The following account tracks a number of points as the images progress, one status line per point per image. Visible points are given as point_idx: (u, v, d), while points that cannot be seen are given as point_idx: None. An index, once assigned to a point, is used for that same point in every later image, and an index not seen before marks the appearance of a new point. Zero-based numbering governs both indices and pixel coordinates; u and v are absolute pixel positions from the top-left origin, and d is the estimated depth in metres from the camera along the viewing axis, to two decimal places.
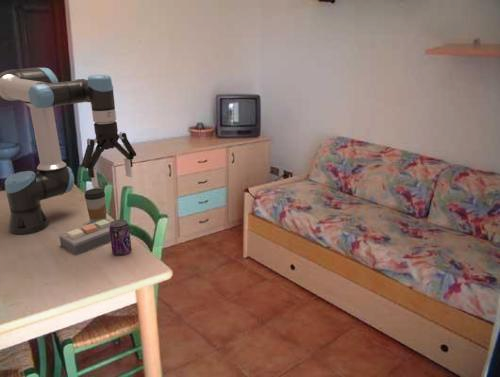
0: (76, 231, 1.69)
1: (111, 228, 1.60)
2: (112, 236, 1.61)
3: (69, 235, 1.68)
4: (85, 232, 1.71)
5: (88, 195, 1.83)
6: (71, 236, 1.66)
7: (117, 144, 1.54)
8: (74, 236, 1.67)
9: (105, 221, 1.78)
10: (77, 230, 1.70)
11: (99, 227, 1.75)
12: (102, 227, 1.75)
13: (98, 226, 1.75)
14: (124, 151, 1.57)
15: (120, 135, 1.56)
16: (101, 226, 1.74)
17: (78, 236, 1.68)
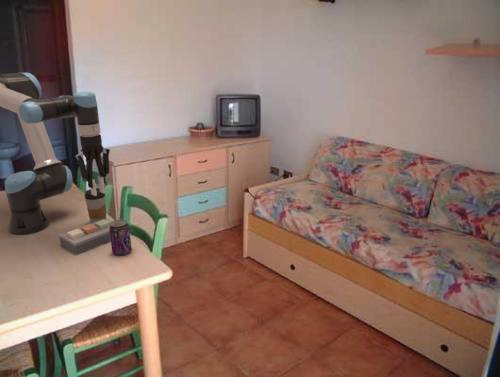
0: (76, 231, 1.69)
1: (111, 228, 1.60)
2: (112, 236, 1.61)
3: (69, 235, 1.68)
4: (85, 232, 1.71)
5: (88, 195, 1.83)
6: (71, 236, 1.66)
7: (99, 156, 1.68)
8: (74, 236, 1.67)
9: (105, 221, 1.78)
10: (77, 230, 1.70)
11: (99, 227, 1.75)
12: (102, 227, 1.75)
13: (98, 226, 1.75)
14: (101, 166, 1.70)
15: (104, 149, 1.70)
16: (101, 226, 1.74)
17: (78, 236, 1.68)
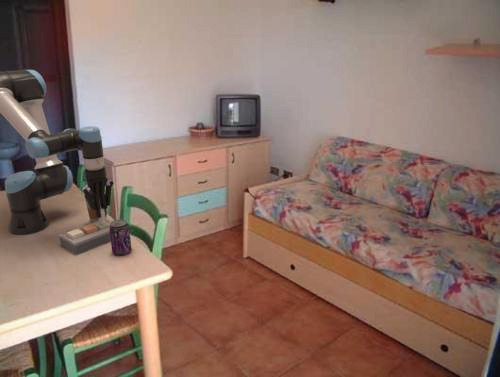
0: (76, 231, 1.69)
1: (111, 228, 1.60)
2: (112, 236, 1.61)
3: (69, 235, 1.68)
4: (85, 232, 1.71)
5: None
6: (71, 236, 1.66)
7: (102, 188, 1.72)
8: (74, 236, 1.67)
9: None
10: (77, 230, 1.70)
11: None
12: None
13: (98, 228, 1.76)
14: (103, 198, 1.74)
15: (108, 181, 1.74)
16: (101, 228, 1.75)
17: (78, 236, 1.68)
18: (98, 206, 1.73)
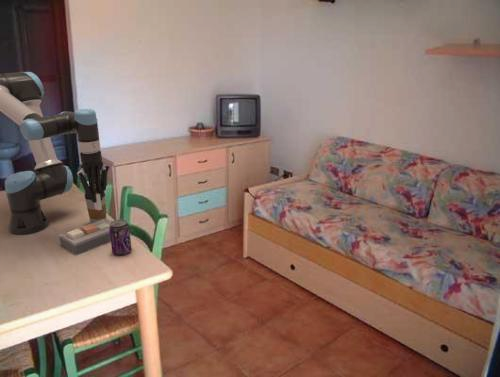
0: (76, 231, 1.69)
1: (111, 228, 1.60)
2: (112, 236, 1.61)
3: (69, 235, 1.68)
4: (85, 232, 1.71)
5: (88, 195, 1.83)
6: (71, 236, 1.66)
7: (98, 173, 1.69)
8: (74, 236, 1.67)
9: (106, 224, 1.79)
10: (77, 230, 1.70)
11: None
12: None
13: None
14: (99, 183, 1.71)
15: (104, 165, 1.72)
16: None
17: (78, 236, 1.68)
18: (94, 191, 1.70)
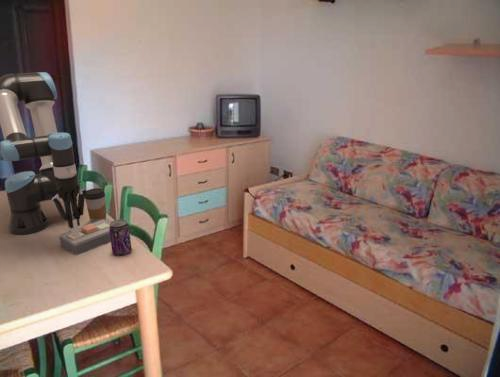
0: None
1: (111, 228, 1.60)
2: (112, 236, 1.61)
3: None
4: (85, 232, 1.71)
5: (88, 195, 1.83)
6: (72, 239, 1.67)
7: (74, 197, 1.64)
8: (74, 239, 1.67)
9: (106, 224, 1.79)
10: None
11: None
12: None
13: None
14: (76, 208, 1.66)
15: (81, 190, 1.66)
16: None
17: None
18: (70, 216, 1.65)
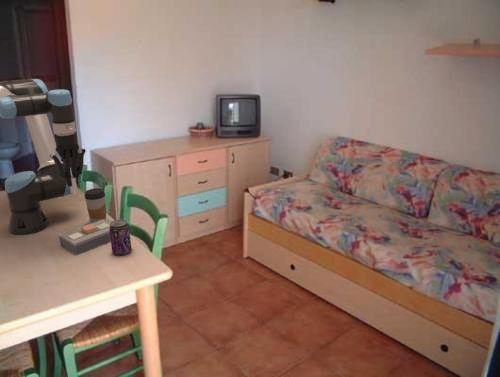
0: (77, 235, 1.70)
1: (111, 228, 1.60)
2: (112, 236, 1.61)
3: None
4: (85, 232, 1.71)
5: (88, 195, 1.83)
6: (72, 239, 1.67)
7: (73, 156, 1.64)
8: None
9: (106, 224, 1.79)
10: (78, 233, 1.71)
11: None
12: None
13: None
14: (74, 166, 1.66)
15: (80, 149, 1.67)
16: None
17: None
18: (69, 174, 1.65)
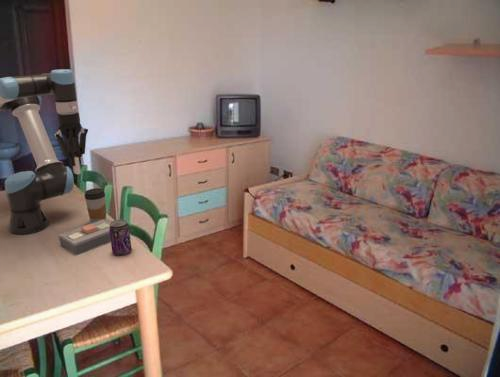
0: (77, 235, 1.70)
1: (111, 228, 1.60)
2: (112, 236, 1.61)
3: None
4: (85, 232, 1.71)
5: (88, 195, 1.83)
6: (72, 239, 1.67)
7: (76, 135, 1.67)
8: None
9: (106, 224, 1.79)
10: (78, 233, 1.71)
11: None
12: None
13: None
14: (77, 146, 1.68)
15: (82, 128, 1.69)
16: None
17: None
18: (72, 153, 1.67)
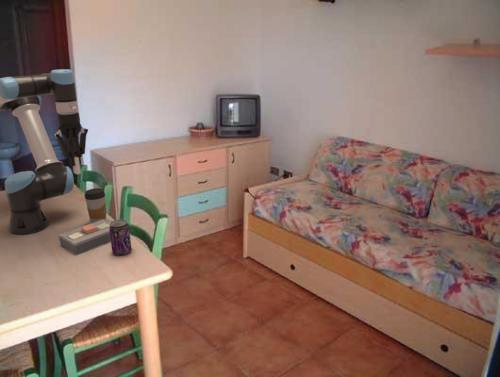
0: (77, 235, 1.70)
1: (111, 228, 1.60)
2: (112, 236, 1.61)
3: None
4: (85, 232, 1.71)
5: (88, 195, 1.83)
6: (72, 239, 1.67)
7: (76, 135, 1.67)
8: None
9: (106, 224, 1.79)
10: (78, 233, 1.71)
11: None
12: None
13: None
14: (77, 146, 1.68)
15: (82, 128, 1.69)
16: None
17: None
18: (72, 153, 1.67)
